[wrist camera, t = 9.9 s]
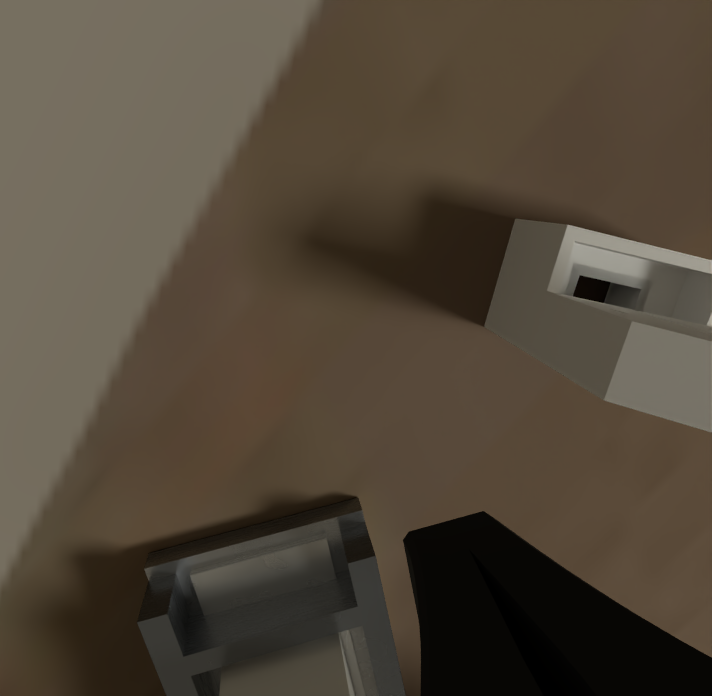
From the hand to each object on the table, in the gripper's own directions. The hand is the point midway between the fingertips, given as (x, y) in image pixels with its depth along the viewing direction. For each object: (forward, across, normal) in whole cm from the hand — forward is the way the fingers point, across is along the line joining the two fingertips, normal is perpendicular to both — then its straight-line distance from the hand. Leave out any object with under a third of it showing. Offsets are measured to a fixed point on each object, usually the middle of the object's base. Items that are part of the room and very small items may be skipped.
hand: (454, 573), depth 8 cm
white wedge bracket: (+10, -8, -1) cm, 13 cm away
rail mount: (+10, +4, +12) cm, 16 cm away
